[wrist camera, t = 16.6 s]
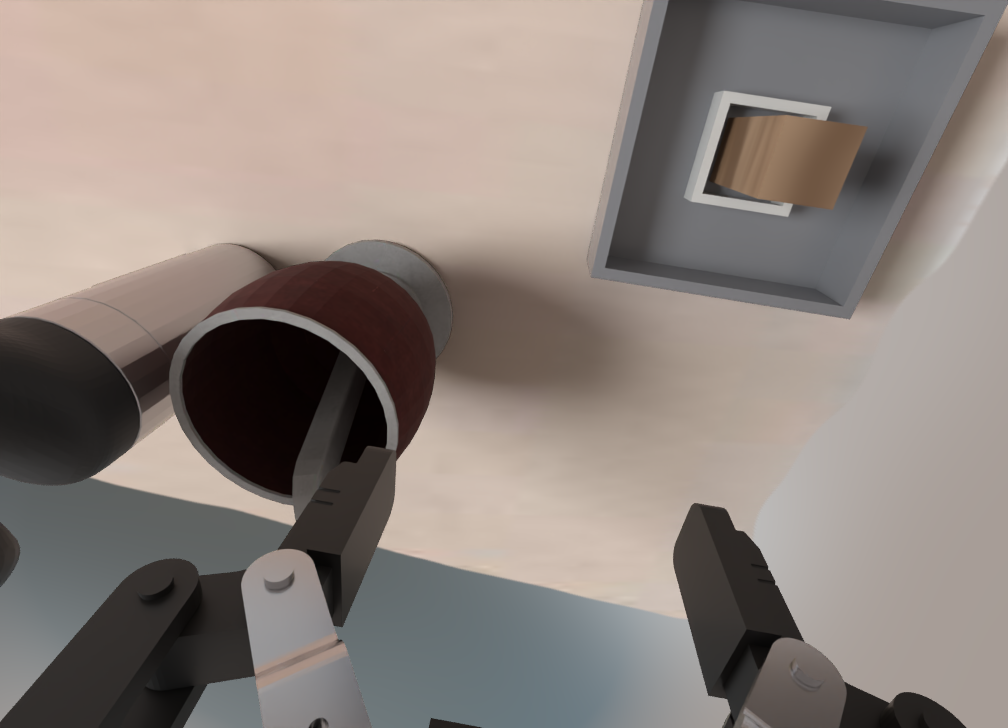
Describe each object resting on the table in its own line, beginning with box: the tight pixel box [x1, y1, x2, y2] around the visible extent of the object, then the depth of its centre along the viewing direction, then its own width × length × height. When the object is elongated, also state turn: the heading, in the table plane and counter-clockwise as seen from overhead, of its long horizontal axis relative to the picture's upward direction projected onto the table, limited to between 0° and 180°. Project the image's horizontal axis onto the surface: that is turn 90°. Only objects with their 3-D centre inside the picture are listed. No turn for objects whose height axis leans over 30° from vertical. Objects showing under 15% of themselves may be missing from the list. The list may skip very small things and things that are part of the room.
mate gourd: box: [169, 240, 453, 521], centre depth 33 cm, size 16×14×20 cm
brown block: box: [710, 115, 868, 210], centre depth 29 cm, size 4×4×9 cm
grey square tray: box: [587, 0, 1008, 319], centre depth 31 cm, size 18×18×5 cm
